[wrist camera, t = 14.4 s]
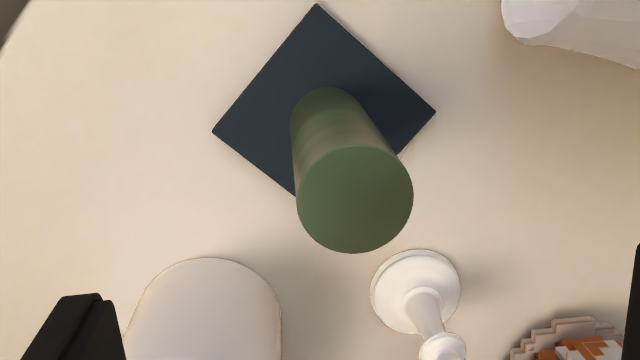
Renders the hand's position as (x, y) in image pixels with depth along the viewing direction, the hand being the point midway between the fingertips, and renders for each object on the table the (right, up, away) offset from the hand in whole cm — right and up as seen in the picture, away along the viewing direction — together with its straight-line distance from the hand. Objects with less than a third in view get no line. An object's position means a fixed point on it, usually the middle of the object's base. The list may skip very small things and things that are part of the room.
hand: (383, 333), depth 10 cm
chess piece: (+4, -3, +21) cm, 21 cm away
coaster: (-1, +6, +17) cm, 18 cm away
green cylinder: (-1, +5, +16) cm, 17 cm away
